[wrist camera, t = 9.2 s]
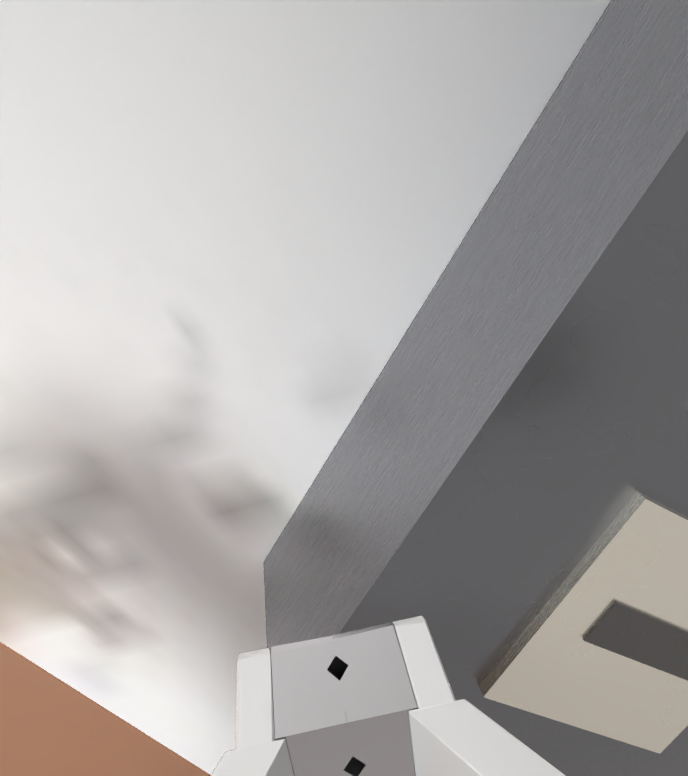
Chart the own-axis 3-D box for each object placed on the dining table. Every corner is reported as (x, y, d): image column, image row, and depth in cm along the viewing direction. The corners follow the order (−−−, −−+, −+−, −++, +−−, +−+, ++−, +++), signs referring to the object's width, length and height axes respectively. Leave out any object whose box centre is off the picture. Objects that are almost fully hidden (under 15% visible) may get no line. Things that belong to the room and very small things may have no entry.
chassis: (263, 562, 19) (271, 746, 14) (661, -82, 14) (956, -230, 8) (582, 676, 24) (689, 851, 18) (978, 220, 18) (1314, 262, 13)
